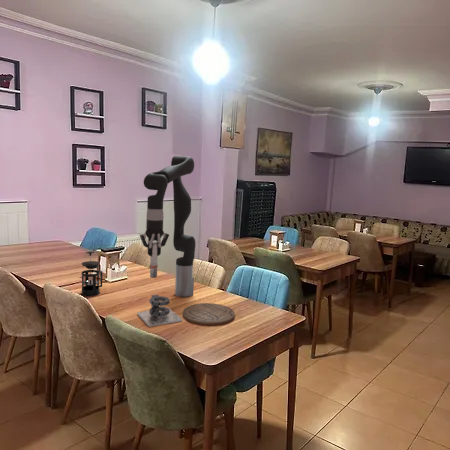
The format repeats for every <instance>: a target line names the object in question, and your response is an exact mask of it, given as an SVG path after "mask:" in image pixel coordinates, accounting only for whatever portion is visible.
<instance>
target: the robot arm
mask: <svg viewBox="0 0 450 450" xmlns="http://www.w3.org/2000/svg"><path fill="white" fill-rule="evenodd" d="M170 164H171V165H170V166H166V167H164V168H163V169H161V170H158V171H153V172H150V173H148V174H147V175H145V177H144V178H143V186H144V188H146V189H147V190H150V191H156V193H155V194H151V195H148V196H147V205H146V206H147V207H146V224H145V225H146V227H145V228H146V229H145V232H144V233H143V234H141V233H140V234H139V238H140V240H141V243H142V245H143V247H145V248H147V255H148V256H149V257H151V256H152V248H151V247H152V243H153V242H156V243H158V256H160V255H161V253H162V247H165V246H166V244H167V241H168V240H169V237H170V235H169V234H168V233H166V232H164V198H165V195H166V191H167V188H168V184H170V183H171V182H172V186H173V188H172V189H173V215H174V216H173V243H172V245H173V248H174V250H175V251H178V252H182V253H183V256H180V257H178V258H176V260H175V284H174V285H175V286H174V288H175V289H174V295H175V296H176V297H179V298H187V297H191V296H193V295H194V289H195V288H194V287H195V286H194V285H195V278H194V277H193V274H194V273H193V272H194V271H193V269H194V260H195V255H196V239H195V237H194V236H192V235H187V234H185V232H184V231H185V230H184V229H185V224H186V223H187V221H188V219H189V217H190V215H191V213H192V198H191V196H190V194H189V192H188V191H187V189H186V188H185V186H184V183H183V181H182V177H183V176H187V175H190V174H192V173H193V172H194V169H195V161H194V159H193V158H192V157H191V156H189V155H174V156H173V157H172V158H171V163H170ZM146 237H147V239H146ZM161 238H162V239H161ZM146 240H147V241H146Z"/></svg>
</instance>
